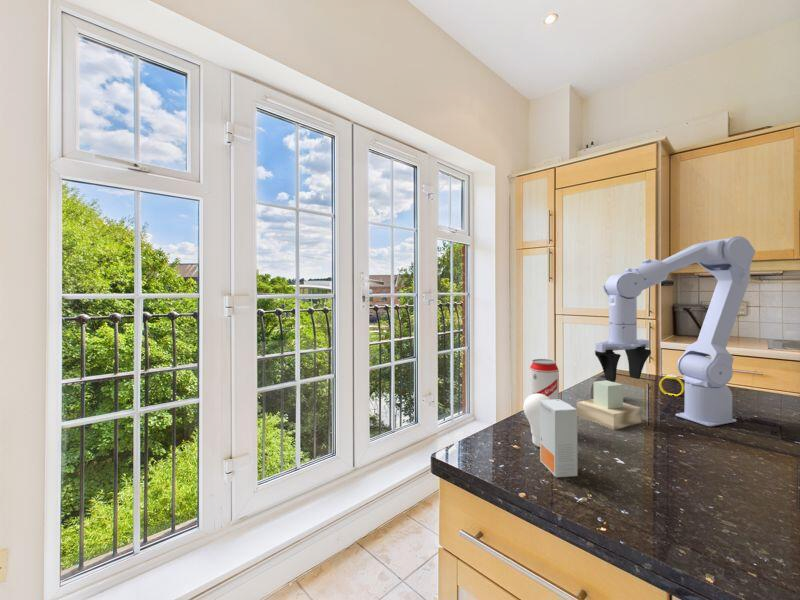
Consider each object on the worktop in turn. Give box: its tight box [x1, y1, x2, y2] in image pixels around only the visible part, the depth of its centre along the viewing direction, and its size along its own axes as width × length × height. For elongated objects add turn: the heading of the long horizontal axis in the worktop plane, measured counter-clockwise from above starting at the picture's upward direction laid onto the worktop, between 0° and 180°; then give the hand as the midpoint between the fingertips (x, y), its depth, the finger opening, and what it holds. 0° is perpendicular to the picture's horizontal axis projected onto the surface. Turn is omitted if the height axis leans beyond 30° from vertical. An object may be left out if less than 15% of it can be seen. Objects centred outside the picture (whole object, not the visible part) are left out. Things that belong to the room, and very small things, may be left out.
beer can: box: [529, 358, 560, 400], centre depth 85 cm, size 6×6×16 cm
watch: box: [658, 374, 685, 397], centre depth 110 cm, size 6×3×6 cm, turn 41°
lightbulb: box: [522, 394, 551, 448], centre depth 76 cm, size 6×6×11 cm
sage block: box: [592, 380, 624, 409], centre depth 91 cm, size 4×4×6 cm
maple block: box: [576, 398, 642, 431], centre depth 91 cm, size 10×10×4 cm
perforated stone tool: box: [589, 373, 606, 400], centre depth 105 cm, size 15×5×7 cm, turn 136°
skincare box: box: [539, 398, 578, 478], centre depth 67 cm, size 6×4×12 cm
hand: (622, 379), depth 89 cm, fingers open, 7 cm apart
